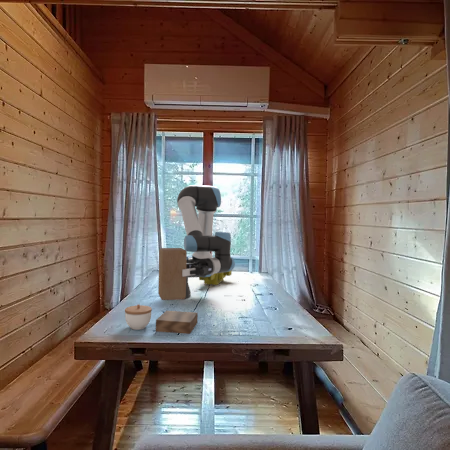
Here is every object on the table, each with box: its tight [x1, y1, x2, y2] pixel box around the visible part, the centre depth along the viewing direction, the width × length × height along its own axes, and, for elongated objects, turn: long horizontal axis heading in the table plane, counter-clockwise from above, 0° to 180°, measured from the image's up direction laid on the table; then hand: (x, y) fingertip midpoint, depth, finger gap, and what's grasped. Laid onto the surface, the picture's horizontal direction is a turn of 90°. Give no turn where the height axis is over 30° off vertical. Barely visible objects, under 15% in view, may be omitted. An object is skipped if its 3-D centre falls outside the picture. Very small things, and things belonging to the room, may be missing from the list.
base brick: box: [155, 310, 199, 335], centre depth 143 cm, size 14×14×5 cm
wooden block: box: [157, 247, 188, 301], centre depth 140 cm, size 10×10×20 cm
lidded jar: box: [124, 303, 153, 331], centre depth 141 cm, size 11×11×9 cm
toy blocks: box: [198, 270, 233, 286], centre depth 239 cm, size 35×16×16 cm
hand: (171, 271), depth 140 cm, fingers closed on wooden block, 13 cm apart
